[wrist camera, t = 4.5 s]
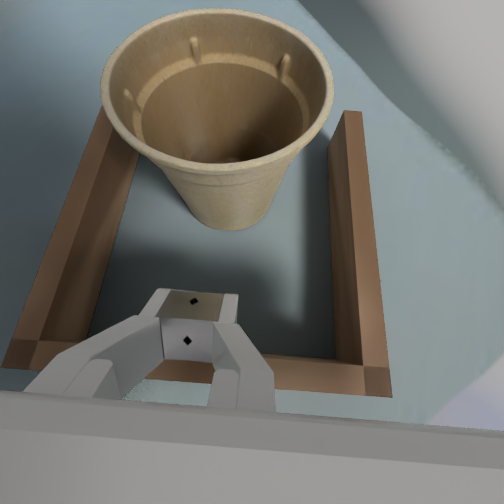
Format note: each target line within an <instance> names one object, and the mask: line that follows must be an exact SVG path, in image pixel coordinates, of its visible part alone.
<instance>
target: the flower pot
mask: <svg viewBox="0 0 504 504" xmlns="http://www.w3.org/2000/svg"><path fill="white" fill-rule="evenodd" d="M100 97H101V101H102V105H103V108H104V110H105V112H106V115H107V117H108V118H109V120H110V122H111V123H112V125H113V126H114V128H115V130H116V131H117V132H118V133H119V135H120V136H121V137H122V138H123V139H124V140H125V141H126V142H127V143H128V144H129V145H131V146H132V147H133V148H134V149H136V150H137V151H138V152H140V153H141V154H143V155H144V156H146V157H148V158H149V159H150V160H151V161H152V162H153V163H154V164H155V165H157V166H158V167H159V168H161V169H162V170H163V172H164V173H165V175H166V176H167V178H168V179H169V180H170V182H171V183H172V184H173V186H174V187H175V188H176V190H177V191H178V193H179V194H180V195H181V197H182V198H183V200H184V201H185V203H186V204H187V206H188V207H189V209H190V210H191V212H192V213H193V215H194V216H195V217H196V218H197V219H198V220H199V221H200V222H202V223H203V224H205V225H206V226H208V227H210V228H213V229H220V230H232V231H238V230H242V229H245V228H248V227H250V226H252V225H254V224H255V223H257V222H258V221H259V220H260V219H261V218H262V217H263V216H264V215H265V214H266V212H267V211H268V209H269V207H270V205H271V202H272V200H273V198H274V196H275V194H276V191H277V189H278V187H279V185H280V183H281V181H282V179H283V177H284V175H285V173H286V171H287V168H288V167H289V164H290V162H291V161H292V160H293V159H294V158H295V157H296V156H297V155H298V153H299V152H300V151H301V150H302V148H303V147H305V146H306V145H307V144H308V143H309V142H310V141H311V140H312V139H313V138H314V137H315V136H316V134H317V133H318V132H319V130H320V129H321V128H322V126H323V124H324V122H325V121H326V119H327V117H328V114H329V112H330V109H331V106H332V102H333V98H334V82H333V78H332V72H331V69H330V67H329V65H328V63H327V61H326V59H325V57H324V55H323V54H322V52H321V51H320V50H319V48H317V47H316V46H315V44H313V43H312V42H311V41H310V39H309V38H308V37H306V36H304V35H303V34H302V33H301V32H300V31H298V30H296V29H293V28H292V27H291V26H288V25H286V24H284V23H283V22H280V21H278V20H275V19H273V18H270V17H267V16H265V15H262V14H258V13H254V12H248V11H245V10H238V9H227V8H226V9H223V8H218V9H217V8H213V9H210V8H207V9H194V10H186V11H182V12H181V13H175V14H170V15H167V16H164V17H161V18H159V19H157V20H154V21H153V22H151V23H149V24H147V25H145V26H143V27H141V28H140V29H138V30H137V31H135V32H134V33H132V34H131V35H130V36H128V37H127V38H126V39H125V40H124V41H123V43H122V44H121V45H120V46H118V47H116V50H114V52H113V53H112V54H111V56H110V57H109V58H108V60H107V63H106V65H105V67H104V69H103V72H102V76H101V82H100Z"/></svg>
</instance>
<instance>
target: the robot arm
mask: <svg viewBox="0 0 504 504" xmlns="http://www.w3.org/2000/svg"><path fill="white" fill-rule="evenodd" d="M237 311H238V294H226V293H225V294H221V293H206V292H197V291H188V290H178V289H167V288H158V289H157V290H156V291H155V292H154V294H153V295H152V297H151V298H150V299H149V301H148V302H147V304H146V305H145V307H144V308H143V309H142V311H141V312H140V314H139V315H133V316H131V317H130V318H128V319H126V320H124V321H122V322H120V323H118V324H116V325H114V326H112V327H110V328H108V329H106V330H104V331H102V332H100V333H98V334H96V335H94V336H92V337H90V338H88V339H86V340H85V341H83V342H81V343H79V344H77V345H75V346H73V347H71V348H69V349H67V350H65V351H63V352H61V353H59V354H57V356H56V357H55V358H54V359H53V360H52V361H51V362H50V363H49V364H48V365H47V366H46V367H45V368H44V369H43V370H42V371H41V372H40V373H39V374H38V376H37V377H36V378H35V379H34V380H33V381H32V382H31V383H30V384H29V385H28V386H27V387H26V388H25V389H24V390H23V391H22V392H19V391H7V390H0V504H504V431H498V430H484V429H473V428H461V427H449V426H436V425H424V424H412V423H399V422H387V421H375V420H362V419H350V418H338V417H326V416H314V415H302V414H289V413H277V412H276V406H275V388H274V372H273V371H272V369H271V368H270V367H269V365H268V364H267V363H266V361H265V360H264V358H263V357H262V356H261V354H260V353H259V352H258V350H257V349H256V347H255V346H254V345H253V343H252V342H251V341H250V339H249V338H248V336H247V335H246V334H245V332H244V331H243V330H242V328H241V327H240V325H239V324H237ZM164 359H172V360H190V361H199V362H208V363H213V367H214V369H215V372H214V376H213V381H212V385H211V390H210V394H209V399H208V404H207V407H203V406H191V405H179V404H167V403H154V402H142V401H130V400H121V399H122V398H123V397H124V396H125V395H126V394H127V393H128V392H129V391H130V390H132V389H133V388H134V387H135V386H136V385H137V384H138V383H139V382H140V381H142V380H143V379H144V378H145V377H146V376H147V375H148V374H149V373H150V372H152V371H153V370H154V369H155V368H156V367H157V366H158V365H159V364H160V363H162V362H163V361H164Z"/></svg>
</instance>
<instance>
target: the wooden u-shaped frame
mask: <svg viewBox="0 0 504 504" xmlns="http://www.w3.org/2000/svg"><path fill="white" fill-rule="evenodd" d="M139 154H140V152H138V151H137V150H136V149H134V148H133V147H132V146H131V145H129V144H128V143H127V142H126V141H125V140H124V139H123V138H122V137H121V136H120V135H119V133H118V132H117V131H116V130H115V128H114V126H113V125H112V123H111V122H110V120H109V118H108V117H107V115H106V112H105V110H104V108H103V105H102V107H101V109H100V112H99V115H98V117H97V120H96V122H95V125H94V128H93V130H92V133H91V135H90V138H89V141H88V143H87V146H86V148H85V151H84V153H83V156H82V159H81V161H80V164H79V166H78V169H77V172H76V174H75V177H74V179H73V182H72V185H71V187H70V190H69V192H68V195H67V197H66V200H65V203H64V205H63V208H62V210H61V213H60V216H59V218H58V221H57V223H56V226H55V228H54V231H53V234H52V236H51V239H50V241H49V244H48V247H47V249H46V252H45V254H44V257H43V260H42V262H41V265H40V267H39V270H38V272H37V275H36V278H35V280H34V283H33V285H32V288H31V291H30V293H29V296H28V298H27V301H26V304H25V306H24V309H23V311H22V314H21V316H20V319H19V322H18V324H17V327H16V329H15V332H14V335H13V337H12V340H11V342H10V345H9V348H8V350H7V353H6V355H5V358H4V360H3V363H2V366H1V368H12V369H25V370H38V371H42V370H43V369H44V368H45V367H46V366H47V365H48V364H49V363H50V362H51V361H52V360H53V359H54V358H55V357H56V356H57V354H59V353H61V352H63V351H65V350H67V349H69V348H71V347H73V346H75V345H77V344H79V343H81V342H83V341H85V340H86V338H87V335H88V331H89V328H90V325H91V321H92V318H93V314H94V311H95V307H96V304H97V300H98V297H99V293H100V290H101V286H102V283H103V279H104V276H105V272H106V269H107V266H108V262H109V259H110V255H111V252H112V248H113V245H114V241H115V238H116V234H117V231H118V227H119V224H120V220H121V217H122V213H123V210H124V207H125V203H126V200H127V196H128V193H129V189H130V186H131V182H132V179H133V175H134V172H135V168H136V165H137V161H138V158H139ZM327 156H328V181H329V206H330V231H331V256H332V281H333V306H334V331H335V356H336V359H325V358H312V357H299V356H286V355H273V354H261V356H262V357H263V358H264V360H265V361H266V363H267V364H268V365H269V367H270V368H271V369H272V371H273V372H274V388H275V389H285V390H298V391H311V392H324V393H337V394H350V395H363V396H376V397H389V398H392V388H391V379H390V370H389V360H388V351H387V342H386V333H385V323H384V314H383V305H382V295H381V286H380V277H379V268H378V258H377V249H376V240H375V230H374V221H373V212H372V203H371V193H370V184H369V175H368V165H367V156H366V147H365V138H364V128H363V119H362V112H359V111H348V110H344V112H343V114H342V116H341V118H340V121H339V123H338V125H337V127H336V130H335V132H334V134H333V136H332V139H331V141H330V143H329V145H328V148H327ZM214 372H215V369H214V367H213V363H208V362H199V361H190V360H172V359H164V361H163V362H162V363H160V364H159V365H158V366H157V367H156V368H155V369H154V370H153V371H152V372H150V373H149V374H148V375H147V376H146V377H145V378H144V379H155V380H168V381H181V382H194V383H207V384H212V381H213V376H214Z"/></svg>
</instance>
